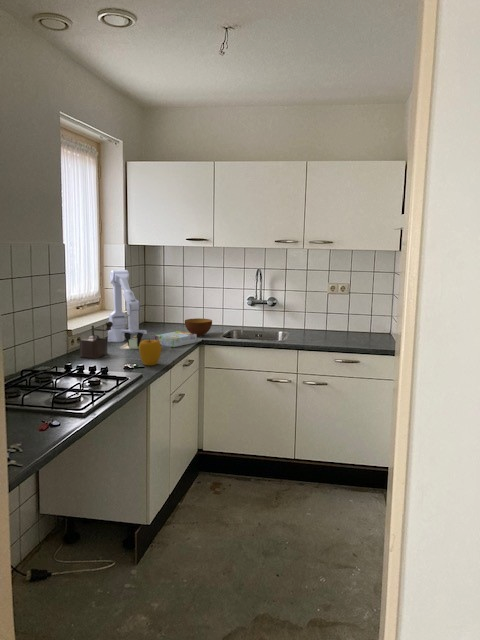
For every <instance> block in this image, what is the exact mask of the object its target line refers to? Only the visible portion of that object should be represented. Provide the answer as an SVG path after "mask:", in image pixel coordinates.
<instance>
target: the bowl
mask: <svg viewBox="0 0 480 640" xmlns="http://www.w3.org/2000/svg"><path fill="white" fill-rule="evenodd" d="M212 324H213V320H212V319H210V318H189V319H185V320H184V325H185V328H186V330H187V331H188V333H192V334H197V336H198V337H199V336H202V337H204V335H205V334H207V333H208V332H210V330H211V328H212V326H213V325H212ZM199 338H200V337H199Z"/></svg>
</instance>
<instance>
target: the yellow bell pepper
mask: <svg viewBox="0 0 480 640" xmlns="http://www.w3.org/2000/svg"><path fill="white" fill-rule="evenodd" d="M162 349H163V348H162V345H161V344H160V342H159V341H157V340H155V339H150V338H149V339H143V341H141V342H140V344H139V349H138V350H139V352H138V353H139V357H140V360H141V362H142V364H143V365H145V366H147V367H148V366H150V367H151V366H155V365H157V364H158V363H159V361H160V359H161V358H160V357H161V354H162Z"/></svg>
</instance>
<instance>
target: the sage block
mask: <svg viewBox="0 0 480 640" xmlns="http://www.w3.org/2000/svg"><path fill="white" fill-rule="evenodd" d="M137 342H138V341H137V338H133V337H130V339H129V348H132V349H133V350H135V349H137V348H138V346H137ZM132 349H131V350H132ZM137 350H138V349H137Z"/></svg>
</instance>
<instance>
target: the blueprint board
mask: <svg viewBox="0 0 480 640" xmlns="http://www.w3.org/2000/svg"><path fill="white" fill-rule="evenodd" d="M119 349H125V350H126V349H127V350H128V349H129V350H130V349H131V350H132V348H129V346H128V342H127V341H126V343H124V344H123V345H122V346H120V347H119ZM137 350H139V347H138V348H137Z"/></svg>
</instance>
